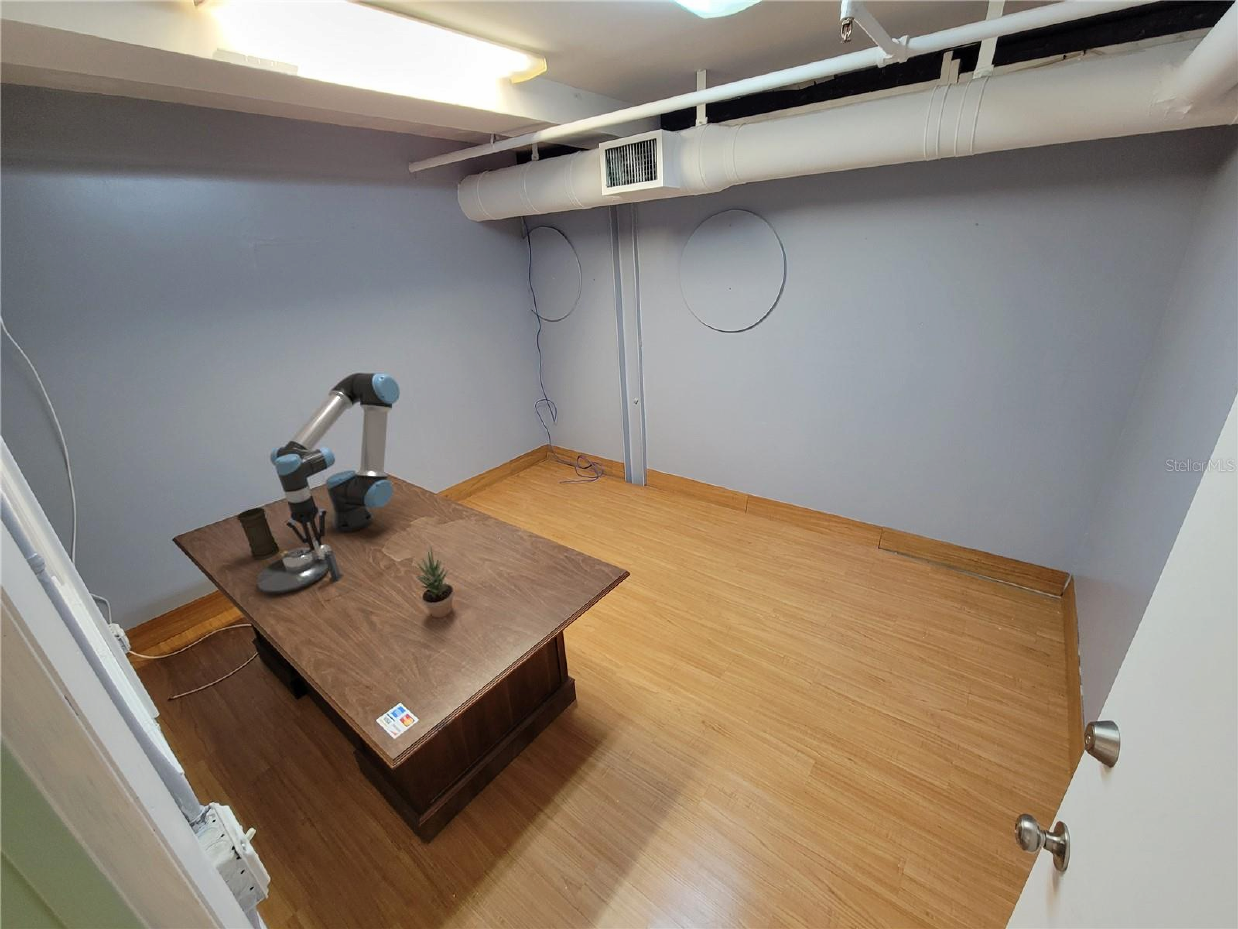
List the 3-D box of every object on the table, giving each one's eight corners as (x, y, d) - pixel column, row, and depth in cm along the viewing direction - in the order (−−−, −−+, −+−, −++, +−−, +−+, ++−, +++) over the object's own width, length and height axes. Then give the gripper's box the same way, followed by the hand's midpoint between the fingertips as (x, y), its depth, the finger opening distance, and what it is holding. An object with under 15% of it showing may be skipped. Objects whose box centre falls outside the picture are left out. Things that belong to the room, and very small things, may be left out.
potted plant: (439, 625, 151) (423, 557, 141) (419, 615, 156) (402, 549, 146) (464, 606, 159) (451, 541, 149) (445, 597, 164) (430, 533, 154)
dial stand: (344, 574, 178) (334, 542, 173) (336, 582, 174) (325, 550, 168) (334, 573, 179) (324, 541, 173) (325, 582, 174) (314, 549, 169)
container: (266, 560, 188) (250, 519, 181) (246, 558, 190) (230, 518, 183) (285, 547, 196) (270, 507, 189) (266, 546, 198) (251, 506, 191)
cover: (311, 556, 184) (306, 542, 182) (318, 565, 178) (313, 551, 176) (283, 566, 178) (278, 552, 176) (290, 577, 172) (284, 562, 170)
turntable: (319, 549, 192) (316, 538, 190) (337, 572, 177) (333, 561, 175) (252, 575, 178) (247, 563, 176) (266, 602, 163) (261, 590, 161)
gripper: (317, 488, 179) (334, 544, 188) (275, 501, 170) (296, 559, 180) (323, 495, 174) (341, 552, 183) (281, 508, 165) (302, 567, 175)
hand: (319, 555), depth 181 cm, fingers closed
